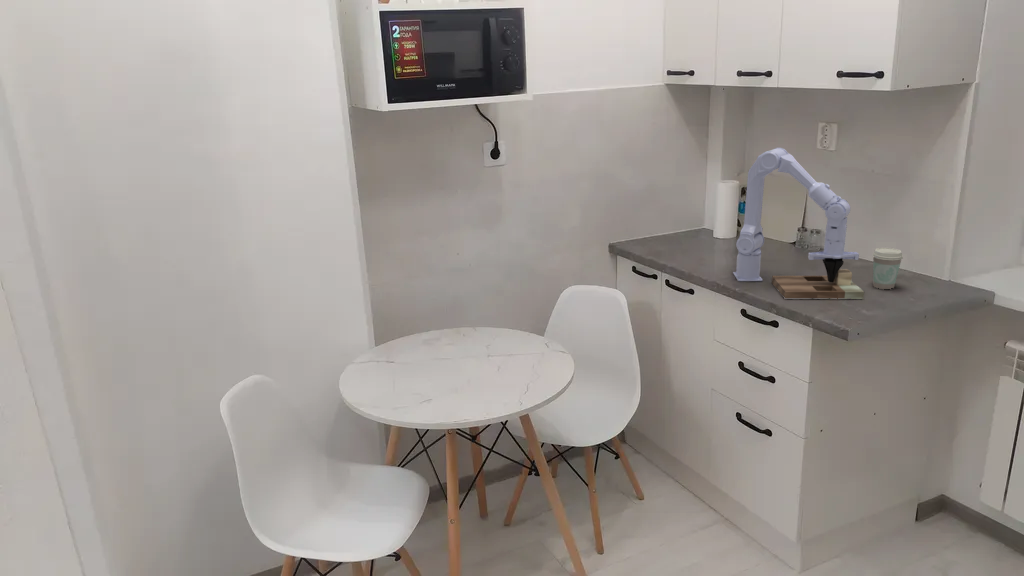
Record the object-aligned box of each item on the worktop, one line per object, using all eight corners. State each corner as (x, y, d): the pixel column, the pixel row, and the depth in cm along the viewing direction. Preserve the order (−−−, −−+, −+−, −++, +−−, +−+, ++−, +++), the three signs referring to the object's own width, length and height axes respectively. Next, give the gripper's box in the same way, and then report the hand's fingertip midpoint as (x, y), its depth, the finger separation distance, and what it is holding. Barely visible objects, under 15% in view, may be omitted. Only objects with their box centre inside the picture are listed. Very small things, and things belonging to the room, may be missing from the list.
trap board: (771, 283, 234) (772, 275, 234) (844, 282, 232) (845, 275, 231) (784, 299, 218) (785, 292, 218) (863, 299, 216) (864, 291, 215)
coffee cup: (864, 287, 227) (868, 251, 223) (874, 281, 232) (878, 245, 228) (893, 292, 221) (898, 255, 217) (902, 286, 226) (907, 250, 223)
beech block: (833, 281, 226) (834, 269, 224) (846, 281, 225) (847, 269, 224) (837, 285, 222) (838, 273, 221) (850, 285, 221) (852, 272, 220)
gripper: (814, 242, 217) (810, 285, 221) (864, 242, 215) (859, 285, 219) (807, 237, 223) (804, 278, 227) (856, 236, 222) (851, 278, 226)
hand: (830, 281), depth 224 cm, fingers closed
